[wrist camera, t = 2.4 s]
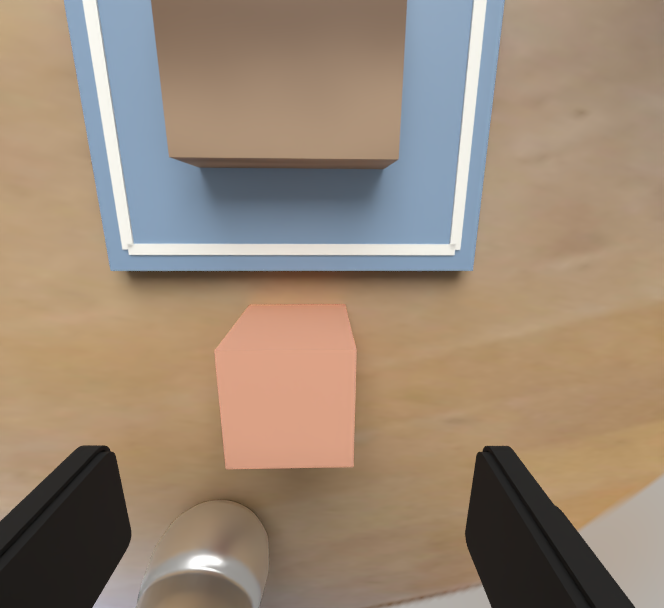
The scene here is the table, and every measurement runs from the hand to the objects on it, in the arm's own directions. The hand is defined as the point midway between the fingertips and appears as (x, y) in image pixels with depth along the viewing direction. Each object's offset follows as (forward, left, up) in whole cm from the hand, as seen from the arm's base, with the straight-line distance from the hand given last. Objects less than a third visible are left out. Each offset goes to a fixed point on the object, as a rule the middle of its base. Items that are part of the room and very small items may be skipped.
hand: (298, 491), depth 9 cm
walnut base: (+13, +1, -9) cm, 15 cm away
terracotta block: (0, +1, -10) cm, 10 cm away
